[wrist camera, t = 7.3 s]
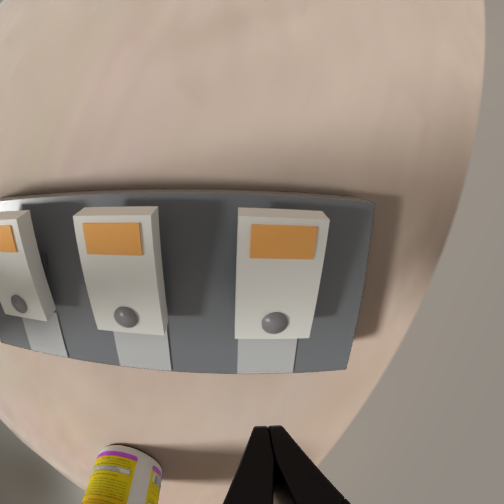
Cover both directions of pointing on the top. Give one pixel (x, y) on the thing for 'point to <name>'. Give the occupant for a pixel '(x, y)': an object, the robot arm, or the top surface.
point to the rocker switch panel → (194, 283)
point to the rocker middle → (123, 267)
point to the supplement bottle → (124, 477)
